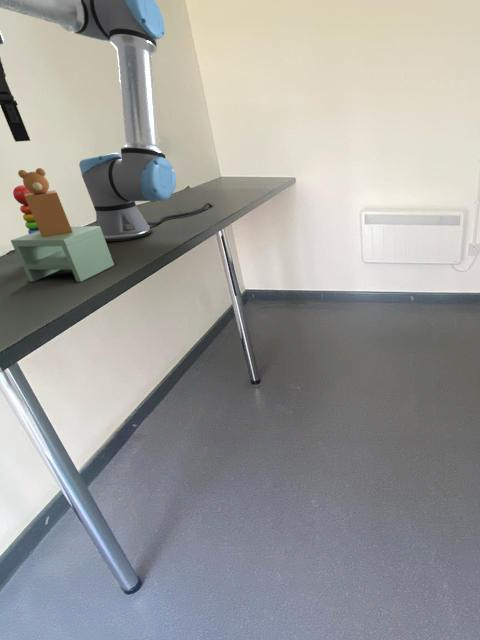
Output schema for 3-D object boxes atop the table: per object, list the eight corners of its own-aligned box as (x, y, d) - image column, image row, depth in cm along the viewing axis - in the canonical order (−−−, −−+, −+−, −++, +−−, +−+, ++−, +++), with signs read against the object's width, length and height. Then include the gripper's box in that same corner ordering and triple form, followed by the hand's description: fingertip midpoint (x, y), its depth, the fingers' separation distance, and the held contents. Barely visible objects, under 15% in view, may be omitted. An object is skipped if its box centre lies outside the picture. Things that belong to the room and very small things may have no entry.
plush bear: (41, 233, 118) (13, 169, 110) (70, 228, 121) (45, 166, 113) (42, 237, 114) (13, 171, 106) (73, 232, 117) (47, 168, 109)
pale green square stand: (67, 265, 129) (50, 226, 124) (114, 265, 127) (100, 226, 122) (29, 281, 118) (10, 240, 113) (81, 281, 116) (63, 239, 111)
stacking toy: (63, 250, 142) (34, 181, 132) (73, 254, 138) (44, 183, 128) (33, 257, 137) (0, 186, 127) (43, 261, 133) (10, 188, 123)
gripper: (-47, 26, 103) (1, 139, 114) (-56, 8, 85) (1, 143, 97) (-4, 27, 106) (38, 136, 118) (-5, 10, 89) (45, 140, 100)
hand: (22, 140), depth 107 cm, fingers open, 13 cm apart
